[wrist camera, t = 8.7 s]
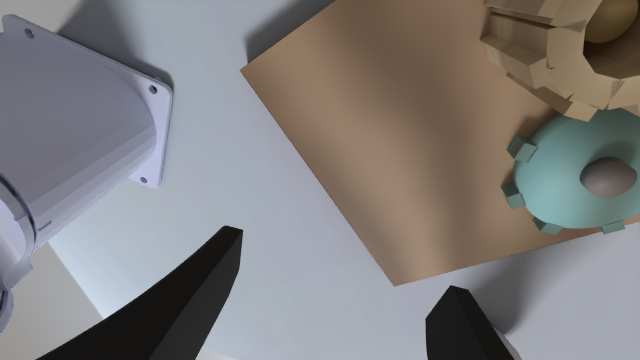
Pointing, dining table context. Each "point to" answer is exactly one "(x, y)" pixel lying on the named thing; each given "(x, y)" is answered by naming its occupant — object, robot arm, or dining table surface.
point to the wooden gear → (564, 55)
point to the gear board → (445, 135)
